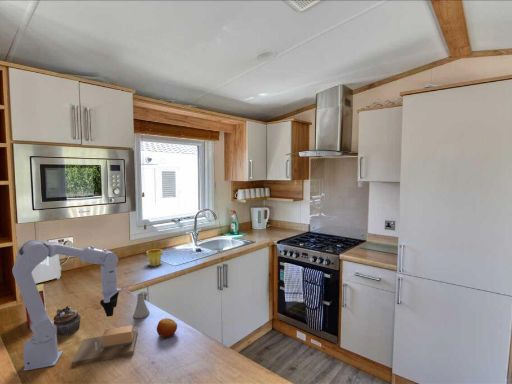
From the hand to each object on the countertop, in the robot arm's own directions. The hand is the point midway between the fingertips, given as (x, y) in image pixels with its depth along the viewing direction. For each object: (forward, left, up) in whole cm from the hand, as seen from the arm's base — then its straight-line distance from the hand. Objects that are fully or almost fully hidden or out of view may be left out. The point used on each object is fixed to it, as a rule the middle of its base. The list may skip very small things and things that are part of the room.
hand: (111, 311), depth 121 cm
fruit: (+22, -9, -10) cm, 26 cm away
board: (0, -11, -9) cm, 14 cm away
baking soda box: (-35, +20, -10) cm, 41 cm away
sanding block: (+4, -11, -8) cm, 14 cm away
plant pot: (+12, +83, -10) cm, 84 cm away
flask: (+10, +12, -10) cm, 18 cm away
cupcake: (-19, +8, -10) cm, 23 cm away
